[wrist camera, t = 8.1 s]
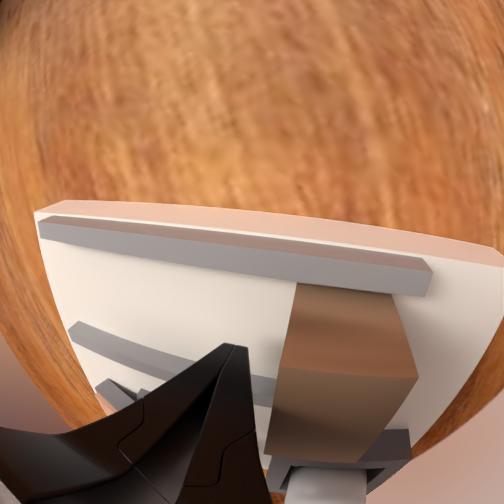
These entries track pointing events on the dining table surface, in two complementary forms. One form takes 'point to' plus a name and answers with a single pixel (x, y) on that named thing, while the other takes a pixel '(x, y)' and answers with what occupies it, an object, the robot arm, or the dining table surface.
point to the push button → (326, 486)
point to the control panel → (261, 301)
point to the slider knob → (338, 374)
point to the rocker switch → (111, 397)
